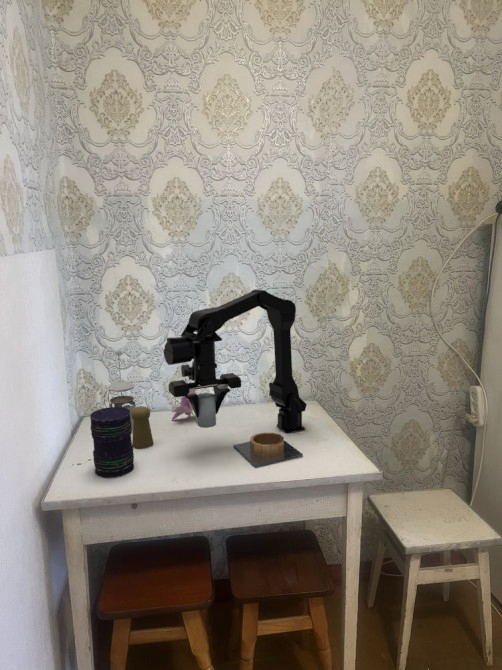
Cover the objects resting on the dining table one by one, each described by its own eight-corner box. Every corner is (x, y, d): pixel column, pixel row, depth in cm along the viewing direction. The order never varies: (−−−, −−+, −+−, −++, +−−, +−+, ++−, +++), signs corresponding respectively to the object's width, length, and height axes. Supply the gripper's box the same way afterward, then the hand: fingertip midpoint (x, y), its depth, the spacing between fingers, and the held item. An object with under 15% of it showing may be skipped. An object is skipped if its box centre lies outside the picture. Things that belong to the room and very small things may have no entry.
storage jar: (141, 462, 132) (137, 408, 129) (123, 479, 123) (119, 421, 120) (106, 459, 134) (102, 405, 131) (86, 476, 125) (81, 419, 122)
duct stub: (212, 419, 139) (211, 392, 138) (218, 425, 135) (217, 397, 133) (195, 422, 137) (193, 394, 136) (201, 428, 133) (200, 400, 131)
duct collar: (277, 438, 146) (277, 425, 145) (302, 456, 133) (302, 443, 132) (233, 447, 140) (232, 434, 139) (254, 468, 127) (254, 453, 127)
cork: (143, 438, 147) (141, 402, 145) (158, 443, 144) (155, 406, 142) (127, 445, 143) (124, 408, 140) (142, 450, 139) (139, 412, 137)
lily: (210, 417, 167) (198, 390, 168) (215, 414, 156) (202, 386, 157) (176, 433, 164) (164, 406, 165) (179, 432, 152) (166, 403, 153)
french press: (124, 437, 148) (118, 355, 143) (96, 431, 154) (89, 351, 149) (147, 426, 157) (141, 348, 152) (119, 420, 162) (113, 344, 158)
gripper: (225, 349, 144) (227, 401, 147) (161, 356, 136) (164, 411, 139) (241, 357, 134) (242, 413, 137) (173, 366, 126) (176, 425, 129)
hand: (206, 415), depth 136 cm, fingers closed on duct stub, 5 cm apart
